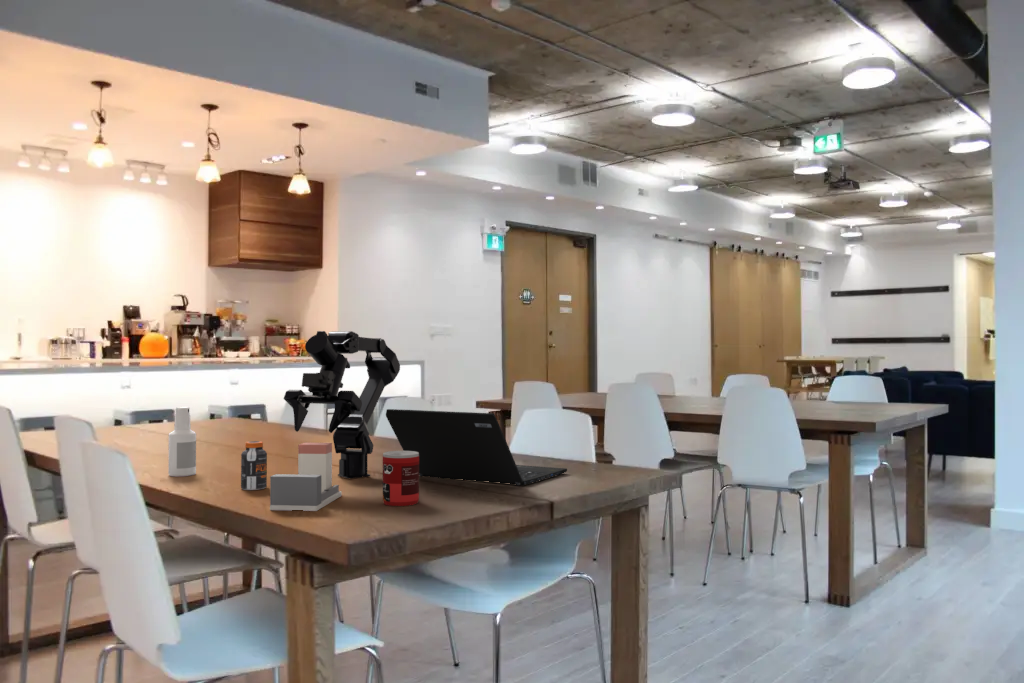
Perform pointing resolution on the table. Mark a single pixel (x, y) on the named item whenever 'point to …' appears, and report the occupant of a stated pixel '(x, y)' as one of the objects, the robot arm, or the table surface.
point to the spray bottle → (182, 446)
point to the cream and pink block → (316, 462)
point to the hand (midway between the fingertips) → (313, 431)
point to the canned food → (400, 478)
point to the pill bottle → (254, 466)
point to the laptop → (462, 447)
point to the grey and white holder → (300, 492)
